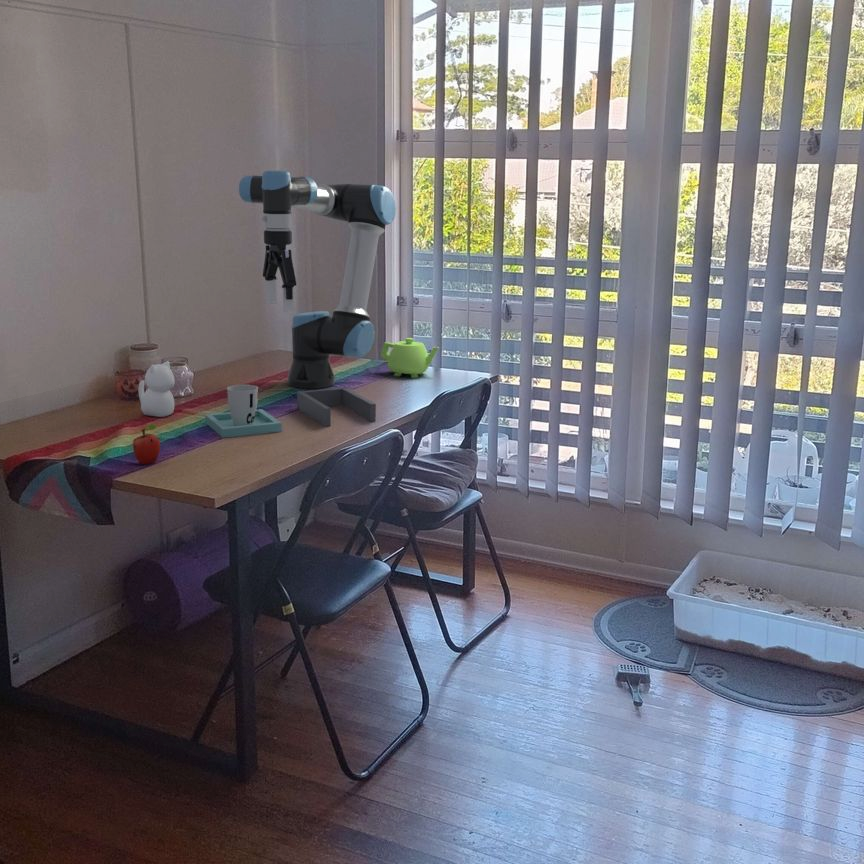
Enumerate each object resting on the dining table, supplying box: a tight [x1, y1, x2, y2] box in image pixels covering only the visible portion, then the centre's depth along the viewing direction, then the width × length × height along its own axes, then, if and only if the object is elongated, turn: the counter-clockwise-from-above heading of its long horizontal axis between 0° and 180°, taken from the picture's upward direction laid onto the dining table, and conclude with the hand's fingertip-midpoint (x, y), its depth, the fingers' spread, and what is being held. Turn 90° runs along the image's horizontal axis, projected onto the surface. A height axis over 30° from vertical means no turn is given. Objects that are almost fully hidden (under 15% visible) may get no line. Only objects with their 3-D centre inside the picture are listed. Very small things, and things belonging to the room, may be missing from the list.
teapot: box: [380, 337, 440, 379], centre depth 327 cm, size 20×13×13 cm
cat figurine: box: [138, 360, 176, 418], centre depth 267 cm, size 9×12×15 cm
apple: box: [132, 423, 161, 465], centre depth 225 cm, size 8×7×10 cm
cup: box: [226, 384, 259, 426], centre depth 257 cm, size 8×8×10 cm
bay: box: [296, 386, 377, 427], centre depth 274 cm, size 22×15×5 cm
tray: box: [204, 408, 283, 439], centre depth 259 cm, size 16×16×2 cm
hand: (279, 307), depth 267 cm, fingers open, 13 cm apart
